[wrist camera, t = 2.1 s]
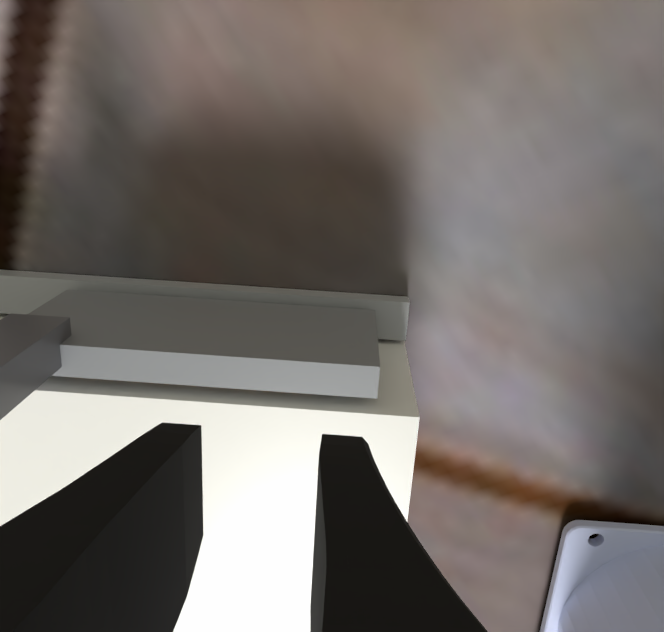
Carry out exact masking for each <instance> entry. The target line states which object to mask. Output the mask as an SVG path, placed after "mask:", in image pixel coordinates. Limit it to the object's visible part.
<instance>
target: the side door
mask: <svg viewBox="0 0 664 632" xmlns="http://www.w3.org/2000/svg"><path fill="white" fill-rule="evenodd" d="M379 374H380V360H379V348H378V336H377V325H376V313H375V310H366V309H351V308H336V307H321V306H306V305H291V304H276V303H261V302H247V301H232V300H217V299H202V298H187V297H172V296H157V295H142V294H127V293H112V292H97V291H83V290H68V289H67V290H65V291H64V292H62V293H61V294H59V295H57V296H56V297H54V298H53V299H51V300H49V301H48V302H46V303H44V304H43V305H41V306H40V307H38V308H36V309H35V310H33V311H31V312H30V313H28V314H13V313H11V314H9V315H7V316H6V317H4V318H2V319H1V320H0V420H1V419H2V418H3V417H5V416H6V415H7V414H8V413H9V412H10V411H12V410H13V409H14V408H15V407H16V406H17V405H18V404H20V403H21V402H22V401H23V400H24V399H25V398H26V397H28V396H29V395H30V394H31V393H32V392H33V391H35V390H36V389H37V388H38V387H39V386H40V385H41V384H43V383H44V382H45V381H46V380H47V379H48V378H50V377H51V376H61V377H75V378H89V379H103V380H118V381H132V382H146V383H161V384H175V385H189V386H203V387H218V388H232V389H246V390H260V391H275V392H289V393H303V394H317V395H332V396H346V397H360V398H374V399H377V396H378V385H379Z"/></svg>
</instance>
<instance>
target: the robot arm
mask: <svg viewBox="0 0 664 632" xmlns="http://www.w3.org/2000/svg"><path fill="white" fill-rule="evenodd" d="M593 534H599V535H598V536H597V537H595V538H591V539H590V538H589V537H590V536H591V535H593ZM202 539H203V486H202V431H201V425H191V424H177V423H163V422H162V423H161V424H159V425H157V426H155V427H154V428H152V429H151V430H149V431H147V432H146V433H144V434H143V435H141V436H140V437H138V438H137V439H136V440H134V441H133V442H131V443H130V444H128V445H127V446H125V447H124V448H122V449H121V450H119V451H118V452H116V453H115V454H114V455H112V456H111V457H109V458H108V459H106V460H105V461H103V462H102V463H100V464H99V465H97V466H96V467H94V468H93V469H91V470H90V471H88V472H87V473H85V474H84V475H82V476H81V477H79V478H78V479H76V480H75V481H73V482H72V483H70V484H69V485H67V486H66V487H64V488H62V489H61V490H59V491H58V492H56V493H54V494H53V495H51V496H49V497H48V498H46V499H44V500H43V501H41V502H39V503H38V504H36V505H34V506H33V507H31V508H29V509H28V510H26V511H24V512H23V513H21V514H19V515H18V516H16V517H14V518H13V519H11V520H10V521H8V522H6V523H5V524H3V525H1V526H0V632H173V631H174V628H175V626H176V623H177V621H178V618H179V616H180V613H181V610H182V608H183V605H184V603H185V600H186V598H187V594H188V591H189V587H190V584H191V580H192V576H193V573H194V569H195V565H196V562H197V558H198V554H199V550H200V546H201V542H202ZM310 632H487V630H486V629H485V628H484V627H483V626H482V624H481V623H480V622H479V621H478V619H477V618H476V617H475V616H474V615H473V613H472V612H471V611H470V610H469V609H468V607H467V606H466V605H465V604H464V603H463V601H462V600H461V599H460V597H459V596H458V595H457V594H456V592H455V591H454V590H453V588H452V587H451V586H450V584H449V583H448V582H447V580H446V579H445V578H444V576H443V575H442V574H441V572H440V571H439V569H438V568H437V566H436V565H435V564H434V562H433V561H432V559H431V558H430V556H429V555H428V554H427V552H426V551H425V549H424V548H423V546H422V545H421V543H420V542H419V540H418V539H417V537H416V535H415V534H414V532H413V531H412V529H411V528H410V526H409V524H408V523H407V521H406V519H405V517H404V516H403V514H402V512H401V511H400V509H399V507H398V506H397V504H396V502H395V501H394V499H393V497H392V495H391V493H390V491H389V490H388V488H387V486H386V484H385V482H384V480H383V478H382V476H381V474H380V472H379V470H378V467H377V465H376V463H375V461H374V458H373V456H372V453H371V450H370V447H369V444H368V443H367V442H366V441H365V440H364V438H363V437H359V436H345V435H331V434H322V438H321V444H320V451H319V463H318V480H317V498H316V515H315V533H314V550H313V568H312V585H311V603H310ZM540 632H664V526H657V525H644V524H630V523H617V522H603V521H589V520H574V521H571V522H569V523H568V524H567V525H566V526H565V527H564V529H563V531H562V535H561V540H560V544H559V549H558V553H557V557H556V562H555V566H554V571H553V575H552V580H551V584H550V589H549V593H548V597H547V602H546V606H545V611H544V615H543V620H542V624H541V628H540Z"/></svg>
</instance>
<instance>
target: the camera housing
mask: <svg viewBox="0 0 664 632" xmlns="http://www.w3.org/2000/svg"><path fill="white" fill-rule="evenodd" d="M67 289H68V290H83V291H97V292H112V293H127V294H142V295H157V296H172V297H187V298H202V299H217V300H232V301H247V302H261V303H276V304H291V305H306V306H321V307H336V308H351V309H366V310H375V313H376V325H377V336H378V348H379V360H380V374H379V385H378V396H377V399H374V398H360V397H346V396H332V395H317V394H303V393H289V392H275V391H260V390H246V389H232V388H218V387H203V386H189V385H175V384H161V383H146V382H132V381H118V380H103V379H89V378H75V377H61V376H51V377H50V378H48V379H47V380H46V381H45V382H44V383H43V384H41V385H40V386H39V387H38V388H37V389H36V390H35V391H33V392H32V393H31V394H30V395H29V396H28V397H26V398H25V399H24V400H23V401H22V402H21V403H20V404H18V405H17V406H16V407H15V408H14V409H13V410H12V411H10V412H9V413H8V414H7V415H6V416H5V417H3V418H2V419H1V420H0V526H1V525H3V524H5V523H6V522H8V521H10V520H11V519H13V518H14V517H16V516H18V515H19V514H21V513H23V512H24V511H26V510H28V509H29V508H31V507H33V506H34V505H36V504H38V503H39V502H41V501H43V500H44V499H46V498H48V497H49V496H51V495H53V494H54V493H56V492H58V491H59V490H61V489H62V488H64V487H66V486H67V485H69V484H70V483H72V482H73V481H75V480H76V479H78V478H79V477H81V476H82V475H84V474H85V473H87V472H88V471H90V470H91V469H93V468H94V467H96V466H97V465H99V464H100V463H102V462H103V461H105V460H106V459H108V458H109V457H111V456H112V455H114V454H115V453H116V452H118V451H119V450H121V449H122V448H124V447H125V446H127V445H128V444H130V443H131V442H133V441H134V440H136V439H137V438H138V437H140V436H141V435H143V434H144V433H146V432H147V431H149V430H151V429H152V428H154V427H155V426H157V425H159V424H161V423H162V422H163V423H177V424H191V425H201V431H202V486H203V539H202V542H201V546H200V550H199V554H198V558H197V562H196V565H195V569H194V573H193V576H192V580H191V584H190V587H189V591H188V594H187V598H186V600H185V603H184V605H183V608H182V610H181V613H180V616H179V618H178V621H177V623H176V626H175V628H174V631H173V632H310V603H311V585H312V568H313V550H314V533H315V515H316V498H317V480H318V463H319V451H320V444H321V438H322V434H331V435H345V436H359V437H363V438H364V440H365V441H366V442H367V443H368V444H369V447H370V450H371V453H372V456H373V458H374V461H375V463H376V465H377V467H378V470H379V472H380V474H381V476H382V478H383V480H384V482H385V484H386V486H387V488H388V490H389V491H390V493H391V495H392V497H393V499H394V501H395V502H396V504H397V506H398V507H399V509H400V511H401V512H402V514H403V516H404V517H405V519H406V521H407V519H408V511H409V502H410V494H411V486H412V477H413V469H414V460H415V452H416V444H417V435H418V427H419V418H420V417H419V412H418V407H417V402H416V397H415V392H414V387H413V382H412V377H411V372H410V367H409V362H408V357H407V352H406V347H405V342H404V341H406V333H407V323H408V314H409V304H410V302H409V298H408V297H407V296H392V295H377V294H362V293H347V292H332V291H317V290H302V289H287V288H272V287H257V286H242V285H227V284H212V283H197V282H182V281H167V280H152V279H137V278H122V277H106V276H91V275H76V274H61V273H46V272H31V271H16V270H1V269H0V320H1V319H2V318H4V317H6V316H7V315H9V314H11V313H13V314H28V313H30V312H31V311H33V310H35V309H36V308H38V307H40V306H41V305H43V304H44V303H46V302H48V301H49V300H51V299H53V298H54V297H56V296H57V295H59V294H61V293H62V292H64V291H65V290H67Z"/></svg>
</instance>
